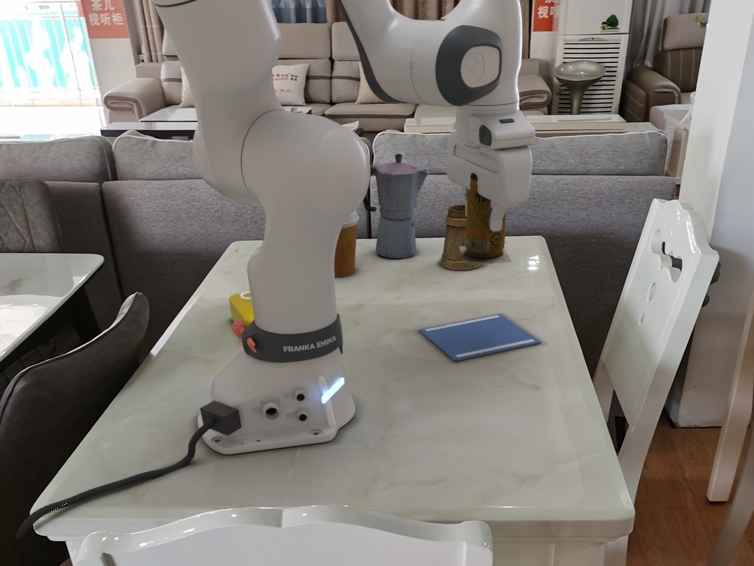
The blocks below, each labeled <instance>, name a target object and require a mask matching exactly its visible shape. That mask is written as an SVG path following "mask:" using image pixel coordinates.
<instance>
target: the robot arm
mask: <svg viewBox="0 0 754 566" xmlns="http://www.w3.org/2000/svg"><path fill="white" fill-rule="evenodd" d="M151 1H152V3H153V6H154V7H155V9H156V12H157V14H158V16H159V19H160V21H161V22H162V23H161V24H162V25H163V27H164V29H165V31H166V34H167V36H168V39H169V41H170V42H171V45H172V46H173V49H174V51H175V54H176V56H177V58H178V60H179V64H180V65H181V67H182V69H183V71H184V74H185V76H186V79H187V83H188V85H189V89H190V92H191V96H192V99H193V104H194V108H195V114H196V121H197V126H196V128H195V130H194V134H193V138H192V158H193V162H194V166H195V167H196V168H195V169H196V170H197V173H198V175H199V176H200V178H201V179H202V180H203V182H205V183H206V185H208V186H209V187H210V188H212V189H214V190H215V191H217V192H218V193H220V194H222V195H223V196H224V197H227V198H228V199H229V200H231V201H233V202H237V203H240V204H245V205H248V206H252V207H256V208H260V209H262V211H263V214H264V235H263V239H262V243H261V245H260V246H259V247H258V248H256V249H255V250H254V252H253V253H252V254H251V255H250V257H249V259H248V261H247V267H246V271H247V278H248V279H247V280H248V285H249V291H250V293H251V300H252V307H253V313H254V319H253V321H252V322H251V323H250V324H249V325H248V326H247V325H246V323H245V322H244V321H242V320H236V321H235V322H233V323H232V324H231V330H232V332H233V333H234V334H235V336H236V337H237V338H238V339H241V343H242V347H243V350H242V351H240V353H239V354H237V356H235V357H234V358H233V360H231V362H229V363H228V364H226V366H225V367H224V368H223V369H221V370H220V372H218V373H217V374H216V375H215V376H214V378H213V380H212V383H211V389H210V402H209V403H207V404H205V405H203V406H201V407H199V412H198V415H197V427H198V429H197V430H196V431H195V432H194V433H193V434H192V436H191V438H190V439H189V442H188V447H187V454H186V455H185V456H184V457H182V458H181V460H179V461H177V462H176V463H174V464H172V465H169V466H165V467H162V468H158V469H153V470H148V471H144V472H141V473H137V474H135V475H131V476H128V477H126V478H125V477H124V478H122V479H119V480H115V481H112V482H109V483H106V484H102V485H99V486H95V487H93V488H90V489H87V490H85V491H81V492H80V493H77V494H75V495H73V496H69V497H68V498H64V499H62V500H59V501H55V502H52V503H49V504H47V505H44V506H41V507H40V508H38V509H37V510H35V511H33V512H32V513H31V514H30V515H29V516H27V518H26V519H25V520H24V521H23V522H22V524H21V525H20V527H19V529H18V530H17V532H16V535H15V538H16V539H23V538H24V537H26V536H27V535H28V532H29V530H30V529H31V528H32V526H33V525H35V523H36V522H37V521H39V520H40V519H41V518H43V517H44V516H46V515H48V514H51V513H53V512H56V511H58V510H62V509H64V508H67V507H71V506H73V505H75V504H78V503H81V502H83V501H86V500H88V499H90V498H93V497H96V496H99V495H102V494H105V493H108V492H111V491H115V490H118V489H122V488H124V487H127V486H130V485H133V484H134V485H135V484H136V483H139V482H142V481H146V480H149V479H154V478H155V479H156V478H159V477H162V476H164V475H167V474H170V473H173V472H175V471H178V470H180V469H183V468H185V467H186V466H188V465H189V464H190V463H191V462H192V461H193V460H194V458H195V456H196V452H197V450H196V449H197V444H198V442H199V441H200V439H201V438H202V440H203V442H204V443H205V444H206V445H207V446H208V447H209V448H210V449H212V450H214V451H215V452H217V453H219V454H222V455H235V454H243V453H251V452H258V451H266V450H274V449H281V448H290V447H296V446H305V445H311V444H319V443H320V444H321V443H327V442H331V441H333V439H335V437H336V436H337V433H338V431H339V430H340V429H341V428H342V427H344V426H345V425H346V424H348V423H349V422H350V421H351V420H352V419H353V418H354V416H355V414H356V412H357V411H356V410H357V409H356V404H355V402H354V399H353V397H352V394H351V391H350V388H349V385H348V380H347V376H346V373H345V367H344V362H343V357H342V355H343V354H344V348H343V347H344V346H343V345H344V333H343V326H342V322H341V321H342V320H341V315H340V314H339V313H338V312H337V310H338V309H337V298H336V297H337V296H336V295H337V293H336V277H335V273H334V260H335V251H336V245H337V241H338V237H339V234H340V231H341V229H342V226H343V224H344V222H345V221H346V219H347V218H348V217H349V216H350V215H351V214H352V213H353V212H355V211H357V210H358V208H359V207H360V206H361V205H362V203H363V199H364V197H365V195H367V193H368V189H369V186H370V182H371V181H370V180H371V175H370V165H371V161H370V157H369V153H368V150H367V147H366V145H365V143H364V142H363V140H362V138H361V137H360V136H359V135H358V134H357V133H356V132H355V131H353V130H352V129H350V128H348V127H346V126H344V125H343V124H340V123H338V122H336V121H334V120H332V119H330V118H327V117H326V116H323V115H317V114H310V113H302V112H295V111H288V110H286V109H285V108H284V107H283V106H282V105H281V103H280V101H279V99H278V97H277V93H276V89H275V84H274V75H273V69H274V67H275V66H276V64H277V62H278V60H279V59H280V56H281V53H282V49H283V37H282V36H283V35H282V33H281V29H280V27H279V24H278V21H277V17H276V16H275V13H274V9H273V7H272V5H271V2H270V0H151ZM335 1H336V3H337V5H338V8H339V10H340V12H341V14H342V16H343V19H344V21H345V23H346V25H347V27H348V29H349V31H350V33H351V35H352V38H353V40H354V42H355V43H354V44H355V45H356V49H357V51H358V56H359V60H360V64H361V69H362V72H363V75H364V78H365V80H366V83H367V85H368V87H369V89H370V91H371V92H372V94H374V96H375V97H376V98H377V99H379V100H380V101H382V102H384V103H388V104H415V105H416V104H417V105H424V106H433V107H434V106H435V107H436V106H437V107H445V108H455V121H454V122H453V125H452V130H450V133H449V135H448V140H447V152H446V153H447V154H446V168H445V169H446V174H447V179H448V180H449V181H451V182H452V183H455V184H456V185H459V186H461V194H462V198H463V202H464V204H465V205H466V217H467V194H468V191H469V190H470V182H471V179H470V175H471V173H474V174H476V175H477V178H478V181H477V185H478V189H477V191H478V193H479V194H480V195H481V196H483V197H485V198H487V199H489V200H491V208H492V212H491V216H490V217H487V223H488V224H487V228H488V229H490V230H491V231H493V232H494V231H500V230H501V229H502V220H503V217H504V215H505V212H506V213H507V210H508V208H513V207H520V206H524V205H525V204H526V202H527V201H528V199H529V195H530V192H531V191H530V189H531V183H532V182H531V180H532V169H533V168H532V167H533V156H532V155H533V154H532V151H531V147H529V146H532V145H534V144H535V142H536V129H535V127H534V126H533V125H532V124H531V123H530V122H529V121H528V119H527V118H526V117H525V115H524V113H523V111H522V110H520V93H519V92H520V91H519V87H518V86H519V85H518V80H519V79H518V78H519V74H520V69H521V67H522V57H523V56H522V55H523V16H522V15H523V14H522V7H521V1H520V0H459V2H458V3H457V5H456V6H455V7H454V8H453V9H452V10H451V11H450V12H449V13H447V14H446V15H444V16H442V17H441V18H440V20H439V19H437V20H424V19H413V18H410V17H408V16H405V15H403V14H401V13H400V12H398V11H397V10H396V9H395V8H394V7H393V6H392V4H391V1H390V0H335ZM66 503H67V504H66ZM64 504H65V505H64ZM62 505H63V506H62ZM57 508H58V509H57ZM55 509H56V510H55ZM53 510H54V511H53ZM51 511H52V512H51Z"/></svg>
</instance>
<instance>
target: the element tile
mask: <svg viewBox="0 0 754 566" xmlns="http://www.w3.org/2000/svg"><path fill="white" fill-rule="evenodd" d="M228 303H229V309H230V316H231V321H232V322H233V323H234V322H235V321H236V320H242V321H244V322H245V323H246V325H247V326H248V325H249V324H250V323H251V322H252V321H253V319H254V313H253V307H252V300H251V293H250V290H249V291H244V292H240V293H235V294H234V293H233V294H231V295H230V296H229V298H228Z"/></svg>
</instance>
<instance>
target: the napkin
mask: <svg viewBox="0 0 754 566" xmlns="http://www.w3.org/2000/svg"><path fill="white" fill-rule="evenodd" d="M418 331H419V333H421V334H422V335H423V336H424V337H425V338H427V339H428V340H429V341H430V342H431V343H433V345H435V346H436V347H437V348H438V349H440V351H442V352H443V353H444V354H445V355H446V356H448V357H449V358H450V359H451V360H452V361H453V362H455V363H456V362H460V361H465V360H469V359H474V358H479V357H484V356H489V355H492V354H497V353H501V352H502V353H503V352H508V351H512V350H516V349H521V348H527V347H530V346H535V345H540V344H542V341H540V340H539V339H538V338H536V337H534V336H533V335H532V334H530V333H529V332H527V331H526V330H524V329H523V328H521V327H520V326H518V325H517V324H516V323H514V322H512V321H511V320H509V318H507V317H506V316H504V315H502V314H501V313H497V314H492V315H488V316H482V317H477V318H472V319H467V320H462V321H458V322H457V321H456V322H452V323H446V324H441V325H436V326H430V327H425V328H421V329H419V330H418Z"/></svg>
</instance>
